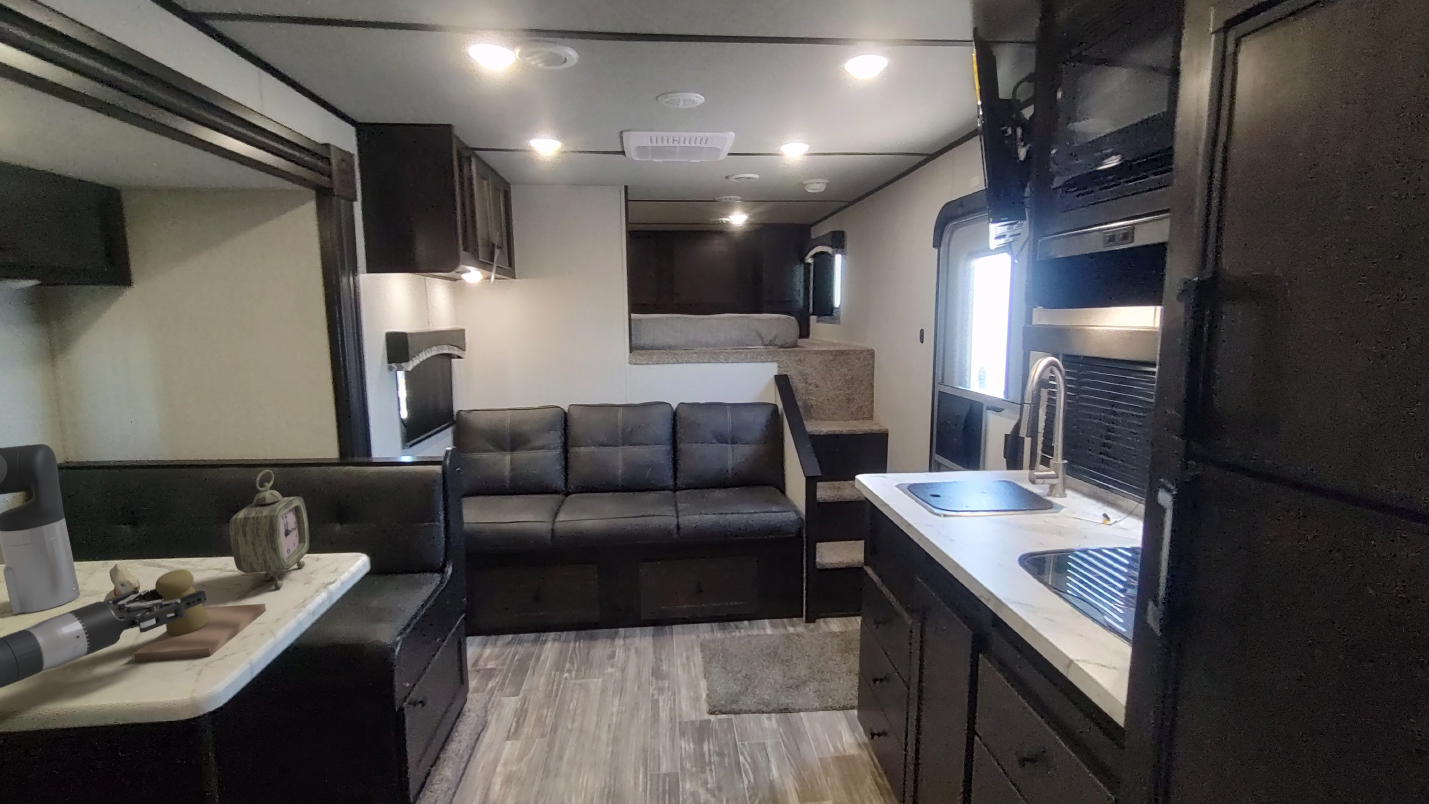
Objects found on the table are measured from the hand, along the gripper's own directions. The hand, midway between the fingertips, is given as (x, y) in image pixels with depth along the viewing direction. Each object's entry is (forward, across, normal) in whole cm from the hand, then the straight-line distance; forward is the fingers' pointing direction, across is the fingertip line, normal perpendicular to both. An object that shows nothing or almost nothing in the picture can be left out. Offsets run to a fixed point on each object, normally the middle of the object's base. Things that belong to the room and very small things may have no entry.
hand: (190, 591), depth 111 cm
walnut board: (+1, 0, +9) cm, 9 cm away
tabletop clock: (+21, +11, +9) cm, 26 cm away
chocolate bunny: (+1, +27, +9) cm, 29 cm away
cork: (0, +3, +7) cm, 8 cm away
